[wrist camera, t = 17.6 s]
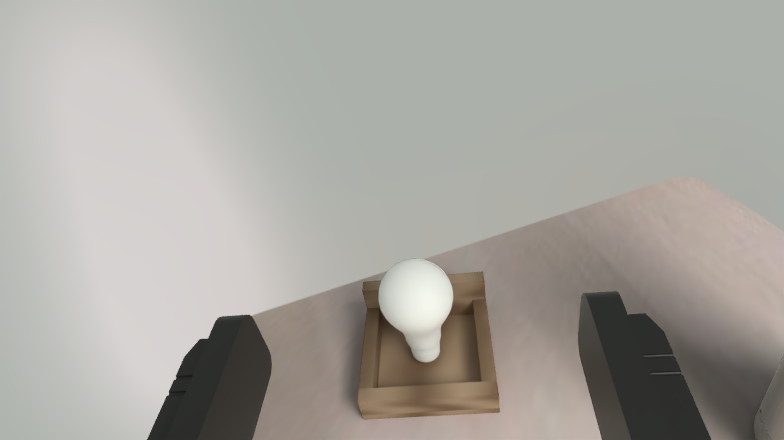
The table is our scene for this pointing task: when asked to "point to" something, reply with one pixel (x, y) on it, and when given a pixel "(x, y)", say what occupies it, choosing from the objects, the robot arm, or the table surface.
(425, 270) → the lightbulb
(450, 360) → the cradle
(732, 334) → the table surface
